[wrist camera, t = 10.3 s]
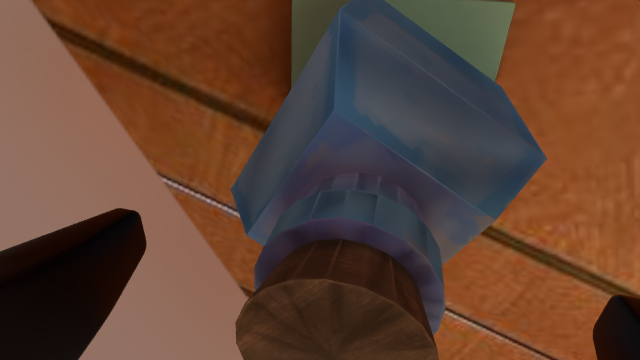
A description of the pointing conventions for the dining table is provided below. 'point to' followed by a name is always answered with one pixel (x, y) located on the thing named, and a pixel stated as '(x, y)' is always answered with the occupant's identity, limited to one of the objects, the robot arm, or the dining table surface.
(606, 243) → the dining table surface
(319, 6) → the mat
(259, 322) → the perfume bottle
